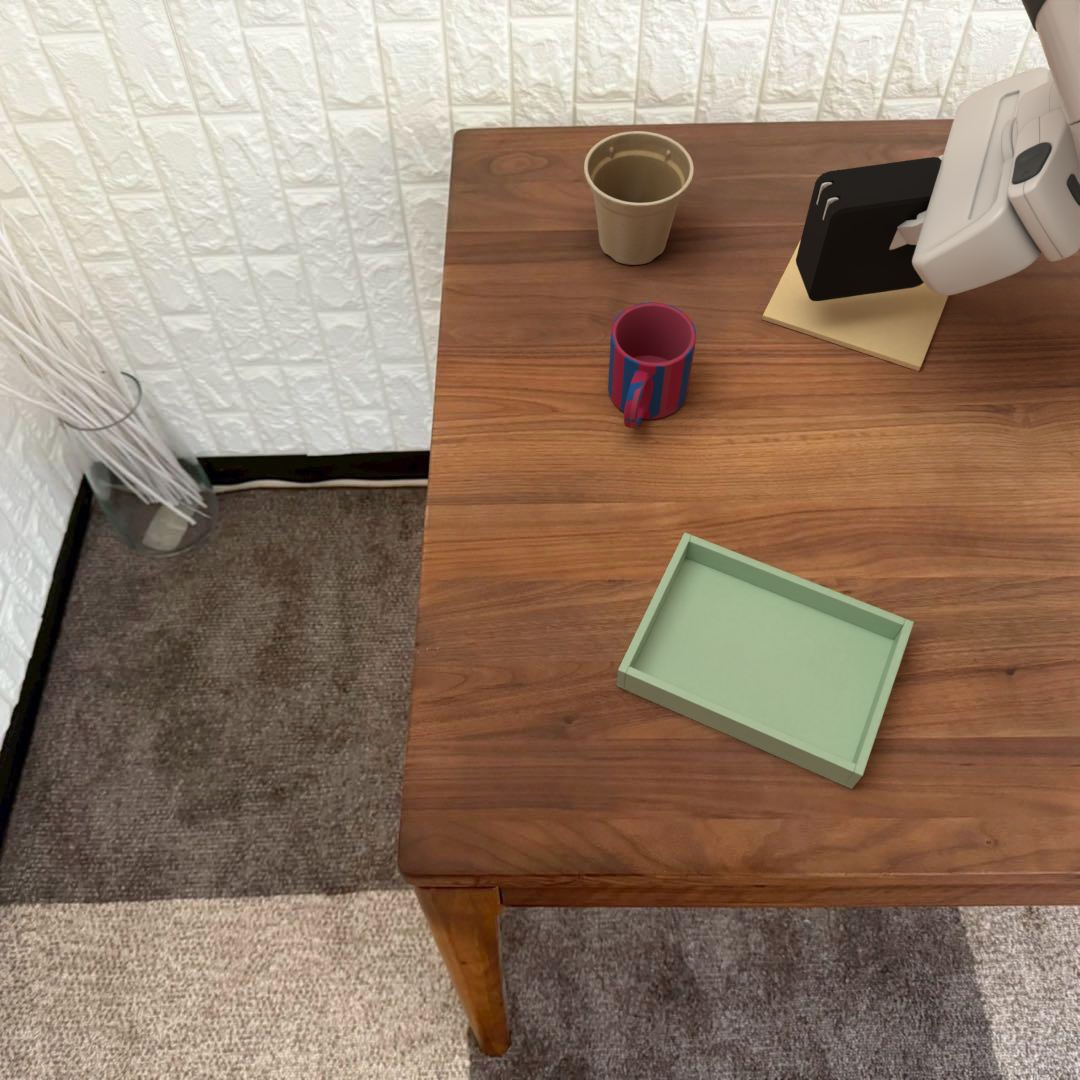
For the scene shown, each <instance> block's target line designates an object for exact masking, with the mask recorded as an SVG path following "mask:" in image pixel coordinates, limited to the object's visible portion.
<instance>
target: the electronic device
mask: <svg viewBox="0 0 1080 1080" xmlns="http://www.w3.org/2000/svg"><path fill="white" fill-rule="evenodd" d="M941 161H942V160H941V159H940V158H939V157H938V156H930V157H923V158H915V159H909V160H901V161H894V162H887V163H879V164H871V165H865V166H864V165H863V166H858V167H849V168H844V169H842V168H841V169H836V170H829V171H827V172H823V173H822V174H820V175H819V176H818V177H817V179H816V181H815V182H814V186H813V190H812V195H811V197H810V202H809V206H808V209H807V212H806V213H807V214H806V217H805V222H804V225H803V228H802V229H803V230H802V233H801V237H800V240H801V241H800V240H799V242H800V245H799V249H798V253H797V257H796V264H797V267H798V270H799V272H800V275H801V278H802V280H803V283H804V286H805V288H806V291H807V293H808V296H809V299H811V300H812V301H824V300H831V299H838V298H845V297H852V296H859V295H866V294H873V293H880V292H887V291H894V290H901V289H908V288H914V287H917V286H920V285H921V284H923V283H924V282H923V281H922V279H921V278H920V276H919V275H918V273H917V272H916V270H915V269H914V267H913V265H912V259H913V255H914V252H915V249H916V245H911V244H906V245H903V246H901V247H898V248H896V249H893V250H889V248H890V246H891V243H892V241H893V239H894V236H895V234H896V232H897V229H898V228H897V227H898V226H899V225H901V224H902V223H904V222H905V221H906V220H916V219H917V215H918V214H920V213H922V212H924V211H927V208H928V205H929V202H930V198H931V195H932V192H933V189H934V186H935V182H936V179H937V176H938V173H939V170H940V165H941Z"/></svg>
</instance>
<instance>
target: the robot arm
mask: <svg viewBox="0 0 1080 1080" xmlns="http://www.w3.org/2000/svg"><path fill="white" fill-rule="evenodd" d="M1020 1H1021V3H1022V5H1023V8H1024V10H1025V12H1026V14H1027V17H1028V19H1029V21H1030V24H1031V26H1032V28H1033V30H1034V31H1035V32H1036V33H1037V35H1038V38H1039V40H1040V44H1041V47H1042V50H1043V53H1044V56H1045V59H1046V62H1047V66H1048V68H1049V69H1048V68H1046V67H1035V68H1031V69H1027V70H1025V71H1022V72H1020V73H1017V74H1014V75H1011V76H1009V77H1006V78H1003V79H1002V80H999V81H997V82H994V83H992V84H990V85H987V86H985V87H983V88H981V89H978V90H976V91H974V92H972V94H970V95H969V96H967V97H966V98H965V99H964V100H963V101H962V102H961V103H959V104H958V106H957V109H956V111H955V114H954V118H953V121H952V124H951V128H950V131H949V134H948V138H947V141H946V145H945V148H944V151H943V154H940V155H938V156H937V157H939V158H940V159H941V160H942V161H941V165H940V170H939V173H938V176H937V179H936V182H935V186H934V189H933V192H932V195H931V198H930V202H929V205H928V208H927V211H924V212H922V213H920V214H918V215H917V219H916V220H906V221H905V222H904V223H902V224H901V225H899V226H898V227H897V228H898V229H897V232H896V234H895V236H894V239H893V241H892V243H891V246H890V248H889V250H893V249H896V248H898V247H901V246H903V245H906V244H911V245H916V249H915V252H914V255H913V259H912V265H913V267H914V269H915V270H916V272H917V273H918V275H919V276H920V278H921V279H922V281H923V282H924V283H925V284H926V286H927V287H928V288H929V290H930V291H931V292H933V293H935V294H939V295H943V296H948V297H949V296H954V295H958V294H961V293H964V292H968V291H971V290H975V289H977V288H981V287H984V286H986V285H989V284H992V283H995V282H997V281H1000V280H1003V279H1006V278H1008V277H1010V276H1013V275H1015V274H1018V273H1020V272H1022V271H1023V270H1025V269H1027V268H1028V267H1029V266H1031V265H1033V263H1035V262H1036V261H1037V259H1039V257H1040V256H1041V254H1042V255H1043V256H1044V257H1045V258H1046V260H1047V261H1048V262H1049V263H1050V262H1052V263H1053V262H1058V261H1061V260H1065V259H1067V258H1070V257H1072V256H1073V255H1075V254H1077V252H1078V251H1079V250H1080V0H1020Z"/></svg>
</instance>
